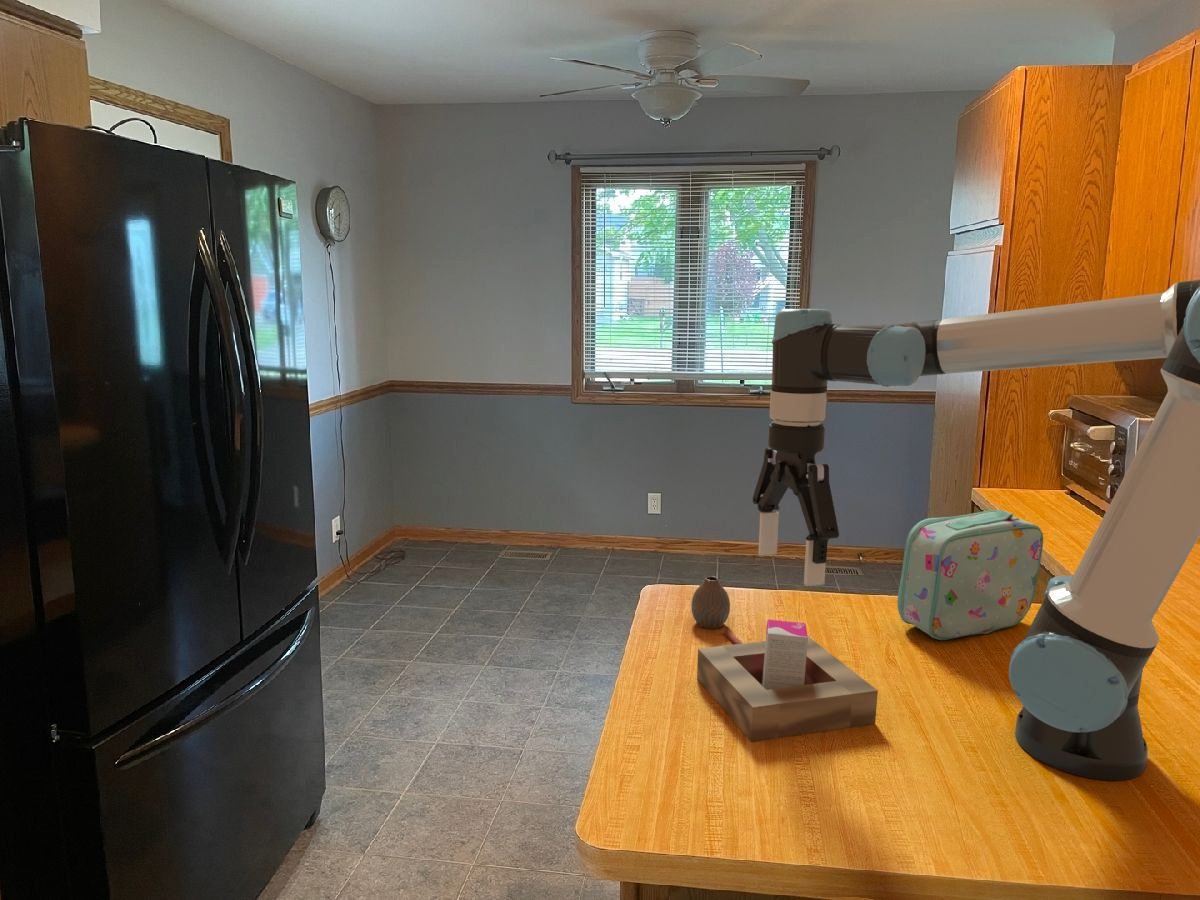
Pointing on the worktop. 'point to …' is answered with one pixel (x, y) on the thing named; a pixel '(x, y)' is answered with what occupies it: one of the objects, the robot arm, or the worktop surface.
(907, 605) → the lunch box
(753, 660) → the brown wooden square frame
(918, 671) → the worktop surface
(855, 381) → the robot arm
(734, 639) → the reddish-brown thin rod
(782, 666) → the supplement box
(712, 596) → the vase
